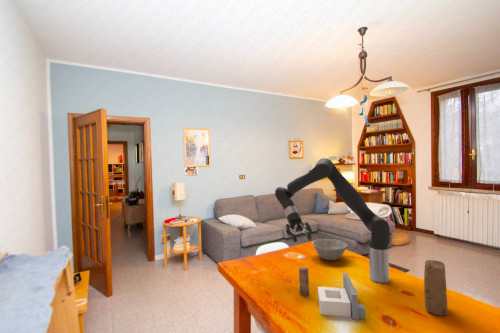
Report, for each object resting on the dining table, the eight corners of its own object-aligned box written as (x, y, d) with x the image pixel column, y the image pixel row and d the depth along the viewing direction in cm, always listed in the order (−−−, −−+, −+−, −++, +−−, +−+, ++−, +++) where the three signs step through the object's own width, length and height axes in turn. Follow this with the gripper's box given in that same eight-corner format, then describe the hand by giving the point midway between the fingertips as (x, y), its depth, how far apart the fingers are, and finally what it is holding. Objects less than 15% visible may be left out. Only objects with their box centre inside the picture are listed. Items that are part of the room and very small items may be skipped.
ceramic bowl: (342, 252, 172) (341, 238, 172) (352, 265, 149) (352, 249, 149) (310, 252, 174) (309, 238, 174) (315, 265, 151) (315, 249, 152)
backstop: (343, 293, 117) (342, 273, 117) (354, 294, 116) (353, 273, 116) (352, 319, 97) (352, 294, 97) (366, 320, 96) (365, 295, 96)
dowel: (299, 290, 121) (298, 266, 121) (308, 291, 120) (308, 267, 120) (299, 295, 116) (299, 270, 116) (309, 296, 116) (308, 270, 116)
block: (447, 319, 95) (446, 268, 95) (424, 312, 100) (422, 264, 100) (447, 306, 104) (445, 260, 104) (425, 301, 109) (424, 256, 109)
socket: (318, 299, 113) (317, 286, 113) (345, 301, 111) (344, 288, 111) (320, 315, 101) (320, 300, 101) (351, 317, 99) (350, 302, 99)
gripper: (283, 212, 136) (294, 238, 125) (305, 210, 140) (317, 235, 130) (279, 220, 141) (289, 245, 130) (300, 218, 145) (312, 242, 135)
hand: (303, 240), depth 130 cm, fingers open, 8 cm apart
